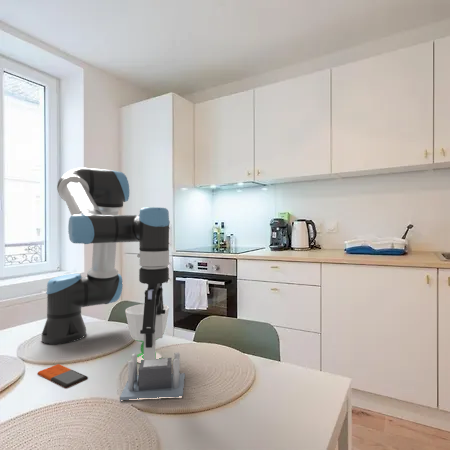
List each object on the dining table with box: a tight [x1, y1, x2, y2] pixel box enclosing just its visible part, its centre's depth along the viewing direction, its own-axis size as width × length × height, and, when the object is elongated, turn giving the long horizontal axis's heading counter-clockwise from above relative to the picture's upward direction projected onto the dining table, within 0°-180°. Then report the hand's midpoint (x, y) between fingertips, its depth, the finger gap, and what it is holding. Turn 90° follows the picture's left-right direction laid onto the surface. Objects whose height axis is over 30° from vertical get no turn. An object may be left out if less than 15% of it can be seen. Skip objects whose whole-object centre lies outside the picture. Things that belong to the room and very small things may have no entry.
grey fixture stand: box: [119, 351, 186, 402], centre depth 81 cm, size 11×15×8 cm
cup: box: [124, 303, 170, 359], centre depth 100 cm, size 14×14×16 cm
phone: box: [37, 363, 89, 389], centre depth 88 cm, size 6×1×15 cm
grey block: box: [138, 357, 173, 391], centre depth 81 cm, size 6×8×6 cm
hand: (153, 347), depth 82 cm, fingers open, 13 cm apart
